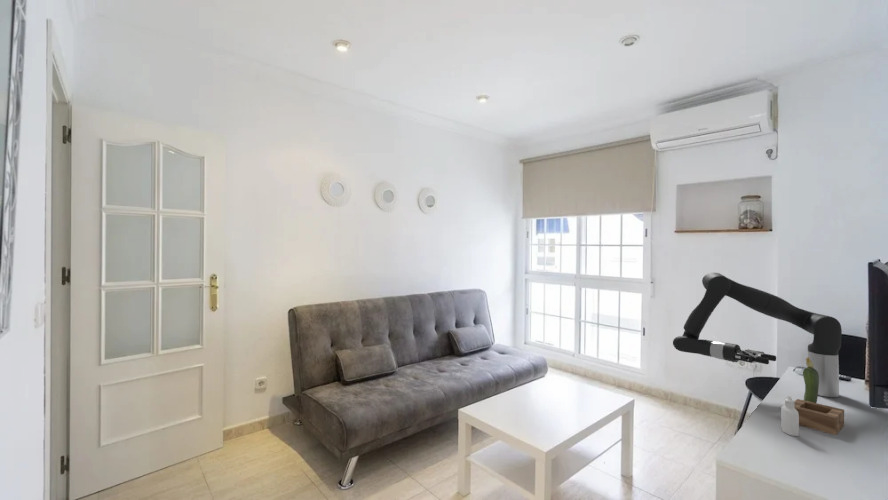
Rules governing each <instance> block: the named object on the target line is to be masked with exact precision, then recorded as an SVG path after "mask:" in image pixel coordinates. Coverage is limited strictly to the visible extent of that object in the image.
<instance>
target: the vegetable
mask: <svg viewBox="0 0 888 500" xmlns="http://www.w3.org/2000/svg"><path fill="white" fill-rule="evenodd" d="M805 360H806V362H805V363H806V367H805V368H803V370H802V376H803V381H804V395H803V400H804V401H809V402H813V403H817V402H818V399H819V398H818V396H819V395H818V387H819V375H818V372H817V370H816V369H814V368H813V367H814V365H813V363H812V362H811V360H810V359H809V358H808V357H806V358H805ZM817 404H818V403H817Z"/></svg>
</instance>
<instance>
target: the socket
mask: <svg viewBox="0 0 888 500" xmlns="http://www.w3.org/2000/svg"><path fill="white" fill-rule="evenodd" d="M794 401H795V407H794V408H795V409H796V410H797V411H798V414H799V426H801V427H805V428H808V429H813V430H816V431H819V432H822V433H823V432H824V433H826V434H827V433H828V434H830V435H834V436H836V435H838V433H839V432H840V431H841V430H842V429H843V428H844V427H845V409H842V408H839V407H834V406H829V405H826V404H822V403H813V402H809V401H804V399H800V398H797V399H795V400H794Z"/></svg>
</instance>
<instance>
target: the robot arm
mask: <svg viewBox="0 0 888 500" xmlns="http://www.w3.org/2000/svg"><path fill="white" fill-rule="evenodd" d="M701 281H702V286H703V288H704V289H705V292H704V295H703V297H702V299H701V301H700V302H699V303H698V304H697V306H696V307H695V308H693V310H691V312H690V314H689V316H688V317H687V319H686V321H685V323H684V325H683V330H684V331H683V334H682V335H678V336H676V337H674V339H672V346H673V347H674V349H676V350H677V351H680V352H682V353H690V354H697V355H702V356H706V357H710V358H714V359H718V360H722V361H727V362H732V363H738V362H746V363H750V364H752V363H755V364H756V363H758V364H764V365H769V364H770V361H771V362H776V361H777V356H776V355H774V354H768V353H765V352H764V351H758V350H752V349H744V350H742V349H741V347H740V345H739V344H736V343H730V342H724V341H718V340H717V341H716V340H708V339H701V338H700V334H701V332H703V329H704V328H705V325H706V324H707V322H708V321H709V319H710V317H711V315H712V314H713V312H714V310H715V309H716V308H717V307H718V305H719V304H720V302H721V301H722V300H723V299H724V298H725V296H726V297H729V298H731V299H732V300H735V301H737V302H738V303H740V304H742V305H743V306H745V307H747V308H749V309H751V310H754V311H756V312H758V313H760V314H763V315H765V316H768V317H771V318H774V319H777V320H781V321H785V322H787V323H790V324H792V325H793V326H795V327H798V328H800V329H802V330H804V331H806V332H807V333H809V334H812V335H813V341H812V342H811V343H809V344H808V345H807V358H809V359H810V360H811V362H812V363H813V365H814V367H813V368H814V369H816V370H817V372H818V375H819V387H818V396H821V397H826V398H839V397H840V375H839V374H840V373H839V372H840V371H839V370H840V368H839V367H840V365H839V364H840V363H839V352H840V349H841V347H842V335H843V331H842V329H843V328H842V325H841V322H840V321H839V320H838V319H837V318H835V317H833V316H829V315H826V314H821V313H816V312H812V311H808V310H806V309H802V308H799V307H797V306H795V305H793V304H791V303H790V302H788V301H787V300H785V299H784V298H782V297H780V296H777V295H774V294H772V293H770V292H767V291H764V290H761V289H758V288H755V287H752V286H748V285H744V284H741V283H739V282H737V281H735V280H732V279H730V278H729V277H727V276H725V275H723V274H721V273H720V272H709V273H707V274H705V275H704V276H703V278H702V280H701Z"/></svg>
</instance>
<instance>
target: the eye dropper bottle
mask: <svg viewBox="0 0 888 500" xmlns="http://www.w3.org/2000/svg"><path fill="white" fill-rule="evenodd" d="M795 401H796V400H793V398H792V396H791V395H788V396H787V398H785V399H784V405H782V406H781V407H780V415H781V416H780V417H781V418H780V422H781V423H780V424H781V427H780V429H781V431H783V432H784V433H785V434H787V435H790V436H792V437H800V425H799V414H798V411H797V410H796V409H795V408H794V407H795Z"/></svg>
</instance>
